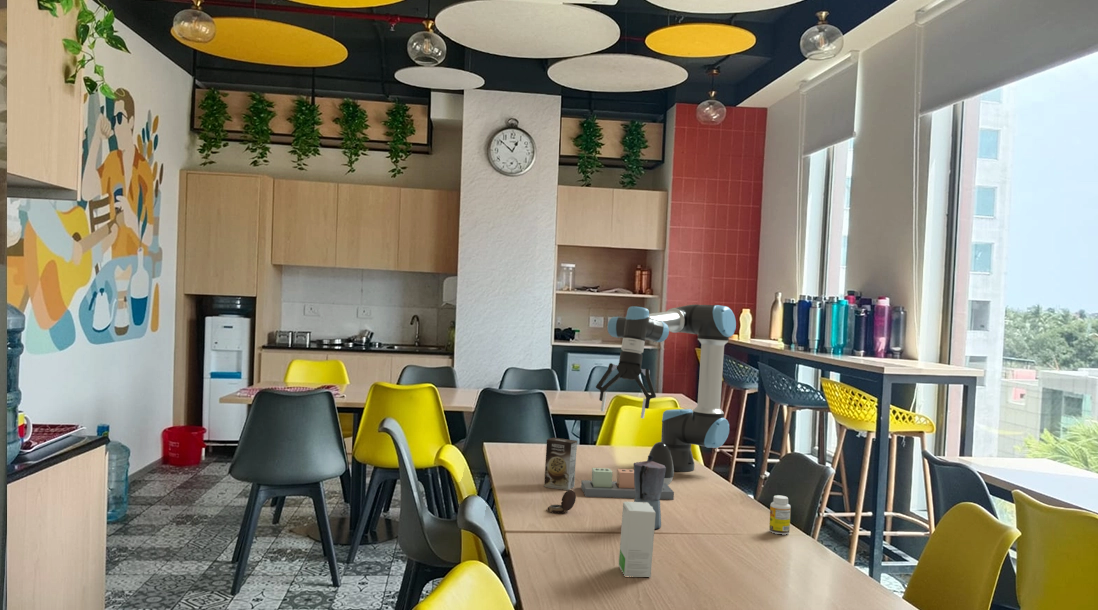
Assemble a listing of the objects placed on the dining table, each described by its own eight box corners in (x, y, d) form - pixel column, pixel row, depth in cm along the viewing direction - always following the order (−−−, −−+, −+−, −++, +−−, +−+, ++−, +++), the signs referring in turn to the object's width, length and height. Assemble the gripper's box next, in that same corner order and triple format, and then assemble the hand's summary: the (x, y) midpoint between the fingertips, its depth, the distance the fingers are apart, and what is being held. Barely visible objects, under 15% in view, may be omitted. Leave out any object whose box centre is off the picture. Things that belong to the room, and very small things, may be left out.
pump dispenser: (672, 482, 288) (674, 440, 288) (674, 489, 278) (676, 445, 278) (643, 480, 289) (646, 438, 289) (644, 487, 279) (646, 443, 279)
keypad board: (665, 490, 275) (665, 483, 275) (673, 499, 262) (673, 492, 262) (581, 487, 273) (581, 480, 273) (585, 496, 260) (585, 488, 260)
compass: (555, 507, 244) (556, 483, 244) (576, 512, 239) (577, 488, 239) (538, 512, 238) (540, 487, 238) (559, 517, 233) (561, 492, 233)
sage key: (609, 483, 270) (609, 467, 270) (611, 487, 264) (612, 471, 264) (591, 482, 270) (592, 467, 270) (593, 486, 264) (594, 470, 264)
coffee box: (543, 487, 271) (545, 439, 271) (550, 483, 277) (552, 436, 277) (568, 490, 268) (571, 442, 268) (575, 487, 274) (577, 439, 274)
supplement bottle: (770, 529, 232) (772, 493, 232) (790, 531, 230) (792, 496, 230) (768, 533, 227) (769, 497, 227) (788, 536, 225) (790, 500, 225)
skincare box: (618, 566, 191) (621, 500, 191) (645, 566, 192) (648, 501, 192) (624, 578, 183) (628, 509, 183) (653, 578, 183) (656, 510, 183)
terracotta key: (634, 484, 271) (634, 468, 271) (637, 488, 265) (638, 472, 265) (616, 483, 270) (617, 468, 270) (619, 487, 264) (620, 471, 265)
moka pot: (667, 522, 233) (670, 453, 234) (657, 535, 219) (660, 462, 219) (635, 517, 237) (638, 450, 237) (622, 530, 222) (626, 458, 222)
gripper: (594, 345, 271) (583, 408, 268) (667, 356, 265) (658, 420, 262) (597, 348, 278) (588, 409, 275) (669, 358, 272) (660, 421, 269)
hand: (622, 414), depth 269 cm, fingers open, 13 cm apart
